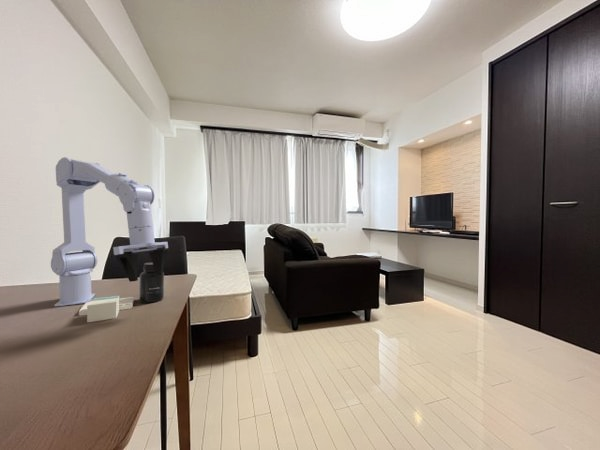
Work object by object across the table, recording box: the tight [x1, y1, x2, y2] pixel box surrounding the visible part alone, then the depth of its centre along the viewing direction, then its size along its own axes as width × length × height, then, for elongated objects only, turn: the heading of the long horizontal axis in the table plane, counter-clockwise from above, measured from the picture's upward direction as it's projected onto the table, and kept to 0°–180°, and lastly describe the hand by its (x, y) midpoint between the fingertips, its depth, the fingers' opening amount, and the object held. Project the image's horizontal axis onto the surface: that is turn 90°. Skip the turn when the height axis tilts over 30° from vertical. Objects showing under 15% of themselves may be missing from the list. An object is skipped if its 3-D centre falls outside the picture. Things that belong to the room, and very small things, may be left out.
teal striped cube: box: [86, 295, 120, 323], centre depth 68 cm, size 6×6×5 cm
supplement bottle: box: [138, 261, 165, 304], centre depth 82 cm, size 7×7×12 cm
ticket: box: [78, 296, 135, 316], centre depth 75 cm, size 8×12×1 cm, turn 119°
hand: (146, 277), depth 68 cm, fingers open, 7 cm apart
